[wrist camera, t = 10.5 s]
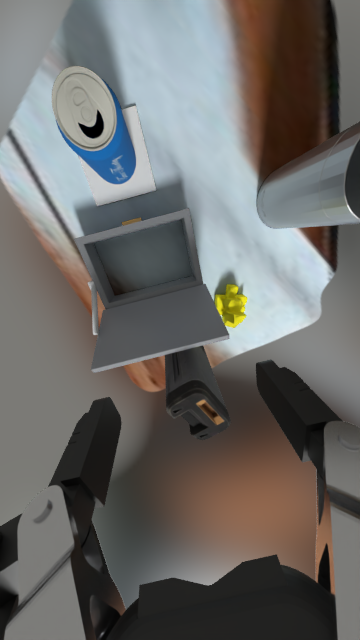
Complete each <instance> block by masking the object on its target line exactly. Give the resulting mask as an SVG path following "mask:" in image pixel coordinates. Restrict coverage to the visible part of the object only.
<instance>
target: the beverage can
mask: <svg viewBox="0 0 360 640" xmlns="http://www.w3.org/2000/svg"><path fill="white" fill-rule="evenodd" d="M52 107H53V111H54V115H55V118H56V122H57V125H58V128H59V130H60V132H61V134H62V136H63V138H64V140H65V141H66V143H67V144H68V145H69V146H70V147H71V148H72V149H73V150H74V151H75V152H76V153H77V154H78V155H79V156H80V157H81V158H82V159H83V160H84V161H85V162H86V163H87V164H88V165H89V166H90V167H91V168H92V169H93V170H94V171H95V172H96V173H97V174H98V175H99V176H100V177H102V178H103V179H104V180H105V181H107V182H109V183H111V184H123V183H125V182H127V181H128V180H129V179H130V178H131V177H132V176H133V174H134V171H135V168H136V154H135V150H134V147H133V144H132V141H131V138H130V135H129V132H128V128H127V125H126V122H125V119H124V116H123V113H122V110H121V107H120V104H119V102H118V99H117V97H116V95H115V94H114V92H113V91H112V89H111V88H110V87H109V85H108V84H107V83H106V82H105V81H104V80H103V79H101V78H100V77H99V76H98V75H97V74H95V73H94V72H93V71H91V70H89V69H87V68H85V67H81V66H71V67H68V68H66V69H64V70H63V71H62V72H61V73H60V74H59V75H58V76H57V78H56V80H55V82H54V85H53V89H52Z"/></svg>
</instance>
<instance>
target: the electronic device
mask: <svg viewBox="0 0 360 640" xmlns="http://www.w3.org/2000/svg"><path fill="white" fill-rule="evenodd" d="M165 375H166V410H167V412H168V414H169V415H170V416H171V417H173V418H176V417H178V416H180V415H181V416H182V417H183V418H184V419H185V420H186V421H187V422H188V423H189V425H190V432H191V435H193V436H194V437H195V438H197V439H200V440H205V439H208V438H210V437H212V436H214V435H216V434H217V433H220V432H221V431H223V430H225V429H226V428H227V427H228V426H229V424H230V421H231V420H230V417H229V414H228V412H227V409H226V406H225V404H224V401H223V398H222V396H221V393H220V390H219V387H218V385H217V382H216V380H215V377H214V374H213V371H212V369H211V366H210V363H209V361H208V358H207V355H206V352H205V350H204V347H203V345H202V346H198V347H194V348H190V349H186V350H183V351H179V352H175V353H171V354H167V355H165Z"/></svg>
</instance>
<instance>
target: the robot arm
mask: <svg viewBox="0 0 360 640" xmlns="http://www.w3.org/2000/svg"><path fill="white" fill-rule="evenodd" d="M257 210H258V214H259V217H260V219H261V220H262V222H263V223H264V224H265V225H267V226H269V227H270V228H275V229H279V228H299V227H315V226H331V225H346V224H360V121H359V122H358V123H356V124H355V125H353V126H351V127H349V128H347V129H346V130H344V131H342V132H341V133H339V134H337V135H335V136H334V137H332V138H330V139H328V140H327V141H325V142H323V143H322V144H320V145H318V146H316V147H315V148H313V149H311V150H309V151H308V152H306V153H304V154H303V155H301V156H299V157H297V158H296V159H294V160H292V161H290V162H289V163H287V164H285V165H283V166H282V167H280V168H278V169H277V170H275V171H274V172H272V173H271V174H270V175H269V176H268V177H267V178H266V180H265V181H264V183H263V184H262V186H261V188H260V191H259V194H258V198H257ZM256 374H257V375H256V377H257V387H258V390H259V393H260V395H261V397H262V398H263V400H264V401H265V403H266V405H267V406H268V408H269V410H270V411H271V413H272V414H273V416H274V418H275V419H276V421H277V422H278V424H279V426H280V427H281V429H282V431H283V432H284V434H285V435H286V437H287V439H288V440H289V442H290V443H291V445H292V447H293V448H294V450H295V451H296V453H297V455H298V456H299V458H300V460H301V461H302V462H306V461H310V460H311V461H312V463H313V464H314V466H315V467H316V469H317V471H316V476H317V479H316V480H317V481H316V482H317V537H316V581H315V580H313V579H312V578H310V577H309V576H307V575H306V574H304V573H302V572H300V571H298V570H296V569H294V568H291V567H288V566H285V565H280V562H279V560H278V557H277V555H272V556H268V557H263V558H259V559H254V560H250V561H245V562H242V563H241V564H240V565H238V566H237V567H236V568H234V569H233V570H232V571H230V572H229V573H227V574H226V575H225V576H224V577H222V578H221V579H219V580H218V581H217V582H215V583H214V584H212V585H209V586H207V585H202V584H198V583H193V582H189V581H185V580H181V579H177V578H169V579H165V580H160V581H156V582H152V583H148V584H143V585H140V587H139V588H140V589H139V598H138V599H137V600H136V601H135V602H133V603H132V604H131V605H130V606H129V607H128V608H127V610H126V608H125V605H124V602H123V599H122V597H121V595H120V592H119V590H118V588H117V586H116V584H115V583H114V581H113V579H112V577H111V575H110V572H109V570H108V567H107V564H106V560H105V557H104V554H103V551H102V548H101V545H100V542H99V539H98V536H97V532H96V529H95V526H94V523H93V521H92V515H93V511H94V509H95V508H99V507H104V505H105V501H106V496H107V491H108V487H109V482H110V477H111V473H112V468H113V463H114V458H115V454H116V449H117V444H118V439H119V435H120V430H121V417H120V414H119V413H118V411H117V409H116V407H115V405H114V403H113V401H112V400H111V398H110V397H107V398H102V399H98V400H95V401H93V403H92V405H91V408H90V410H89V412H88V413H85V414H84V415H83V416H82V418H81V419H80V420H79V421H78V423H77V425H76V427H75V429H74V432H73V433H72V436H71V438H70V440H69V442H68V446H67V447H66V449H65V451H64V453H63V455H62V458H61V460H60V462H59V464H58V466H57V469H56V471H55V473H54V475H53V478H52V480H51V482H50V484H49V486H48V487H47V488H45V489H44V490H42V491H41V492H40V493H38V494H37V495H36V496H35V497H34V498H33V499H32V500H31V502H30V503H29V504H28V506H27V507H26V508H25V510H24V512H23V513H22V514H20V515H19V516H17V517H15V518H13V519H12V520H10V521H8V522H7V523H5V524H3V525H2V526H0V640H360V428H359V427H358V426H356V425H353V424H351V423H348V422H344V421H342V420H341V419H340V418H339V417H338V416H337V415H336V414H335V413H334V412H333V411H332V410H331V409H330V408H329V407H328V406H327V405H326V404H325V403H324V402H323V401H322V400H321V399H320V398H319V397H318V396H317V395H316V394H315V393H314V392H313V390H311V389H310V388H309V386H308V385H307V384H306V383H304V382H303V380H302V379H301V378H300V377H299V376H298V375H297V374H296V373H295V372H292V371H291V370H289V369H287V368H285V367H283V368H279V367H278V366H277V365H276V364H275V363H274V362H273V361H272V360H267V361H263V362H258V363H256Z"/></svg>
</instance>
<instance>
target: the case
mask: <svg viewBox="0 0 360 640" xmlns="http://www.w3.org/2000/svg"><path fill="white" fill-rule="evenodd" d="M178 220H181V221H182V226H183V231H184V236H185V240H186V245H187V250H188V255H189V260H190V264H191V269H192V274H193V276H190V277H186V278H182V279H178V280H174V281H170V282H166V283H163V284H159V285H155V286H151V287H147V288H143V289H139V290H136V291H132V292H128V293H124V294H120V295H116V296H115V295H114V292H113V290H112V288H111V285H110V283H109V280H108V278H107V275H106V273H105V270H104V268H103V266H102V263H101V261H100V258H99V256H98V253H97V251H96V248H95V246H94V244H93V243H95V242H99V241H103V240H107V239H110V238H114V237H118V236H122V235H125V234H129V233H133V232H137V231H140V230H144V229H148V228H152V227H156V226H159V225H163V224H167V223H171V222H174V221H178ZM122 225H123V226H120V227H117V228H113V229H109V230H105V231H102V232H98V233H94V234H90V235H87V236H83V237H79V238H75V239H74V240H75V242H76V244H77V246H78V249H79V251H80V253H81V255H82V258H83V260H84V262H85V264H86V267H87V269H88V271H89V273H90V275H91V278H92V280H93V281H90V282H88V285H89V287H90V289H91V292H92V320H93V335H98V338H97V343H96V348H95V352H94V357H93V362H92V367H91V370H92V371H93V372H94V373H95V372H99V371H103V370H107V369H111V368H115V367H119V366H123V365H127V364H131V363H135V362H139V361H143V360H147V359H151V358H155V357H159V356H163V355H167V354H171V353H175V352H179V351H183V350H186V349H190V348H194V347H198V346H202V345H206V344H210V343H214V342H218V341H222V340H226V339H229V333H228V331H227V329H226V327H225V325H224V323H223V321H222V318H221V316H220V314H219V312H218V310H217V308H216V306H215V304H214V301H213V299H212V297H211V295H210V293H209V291H208V289H207V287H206V284H203V281H202V275H201V270H200V265H199V259H198V254H197V249H196V243H195V238H194V233H193V227H192V222H191V217H190V211H189V208H188V209H184V210H180V211H177V212H173V213H169V214H165V215H162V216H158V217H154V218H150V219H147V220H143V221H142V219H141V218H136V219H132V220H128V221H125V222H122ZM97 291H98V293H99V296H100V298H101V300H102V302H103V305H104V307H105V309H106V310H103V313H102V318H101V323H100V328H99V329H98V308H97Z"/></svg>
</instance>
